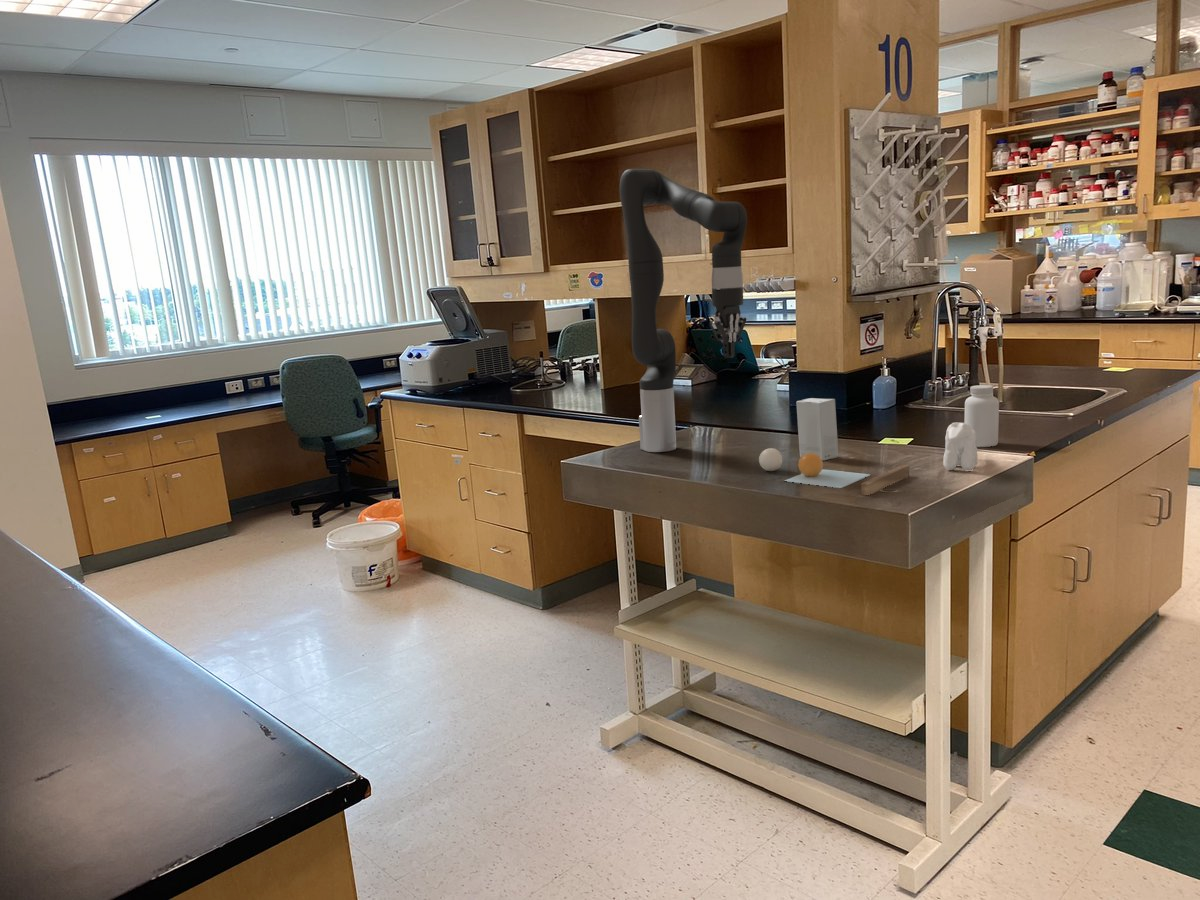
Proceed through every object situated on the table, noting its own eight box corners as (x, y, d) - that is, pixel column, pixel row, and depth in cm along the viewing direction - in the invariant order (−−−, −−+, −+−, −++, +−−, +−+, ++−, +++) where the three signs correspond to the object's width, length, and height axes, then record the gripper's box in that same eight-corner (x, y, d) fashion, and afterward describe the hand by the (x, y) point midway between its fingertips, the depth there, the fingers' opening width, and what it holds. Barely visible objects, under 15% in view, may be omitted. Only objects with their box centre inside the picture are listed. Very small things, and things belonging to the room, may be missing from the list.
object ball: (800, 450, 198) (819, 464, 195) (812, 446, 202) (831, 459, 199) (790, 469, 201) (808, 483, 198) (802, 465, 204) (820, 478, 202)
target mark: (784, 481, 197) (784, 480, 197) (815, 469, 207) (815, 468, 207) (840, 488, 188) (840, 487, 188) (870, 475, 198) (870, 474, 198)
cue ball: (772, 445, 205) (779, 467, 204) (782, 444, 209) (789, 466, 208) (752, 452, 208) (759, 474, 207) (762, 452, 212) (769, 473, 211)
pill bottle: (964, 447, 220) (965, 388, 217) (964, 441, 227) (964, 384, 224) (998, 447, 217) (1000, 388, 214) (997, 441, 224) (998, 383, 221)
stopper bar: (861, 495, 181) (861, 483, 181) (902, 475, 196) (902, 464, 195) (868, 495, 180) (868, 484, 180) (909, 476, 195) (909, 465, 194)
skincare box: (838, 457, 218) (838, 399, 215) (822, 461, 215) (821, 402, 212) (813, 453, 225) (812, 396, 222) (796, 457, 222) (795, 399, 219)
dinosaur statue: (933, 474, 191) (935, 424, 190) (960, 462, 211) (961, 417, 210) (966, 476, 187) (968, 425, 186) (990, 464, 207) (992, 418, 206)
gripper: (730, 285, 219) (731, 354, 223) (698, 288, 210) (700, 360, 213) (755, 284, 214) (756, 355, 218) (724, 287, 205) (726, 360, 208)
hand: (729, 357), depth 215 cm, fingers closed
